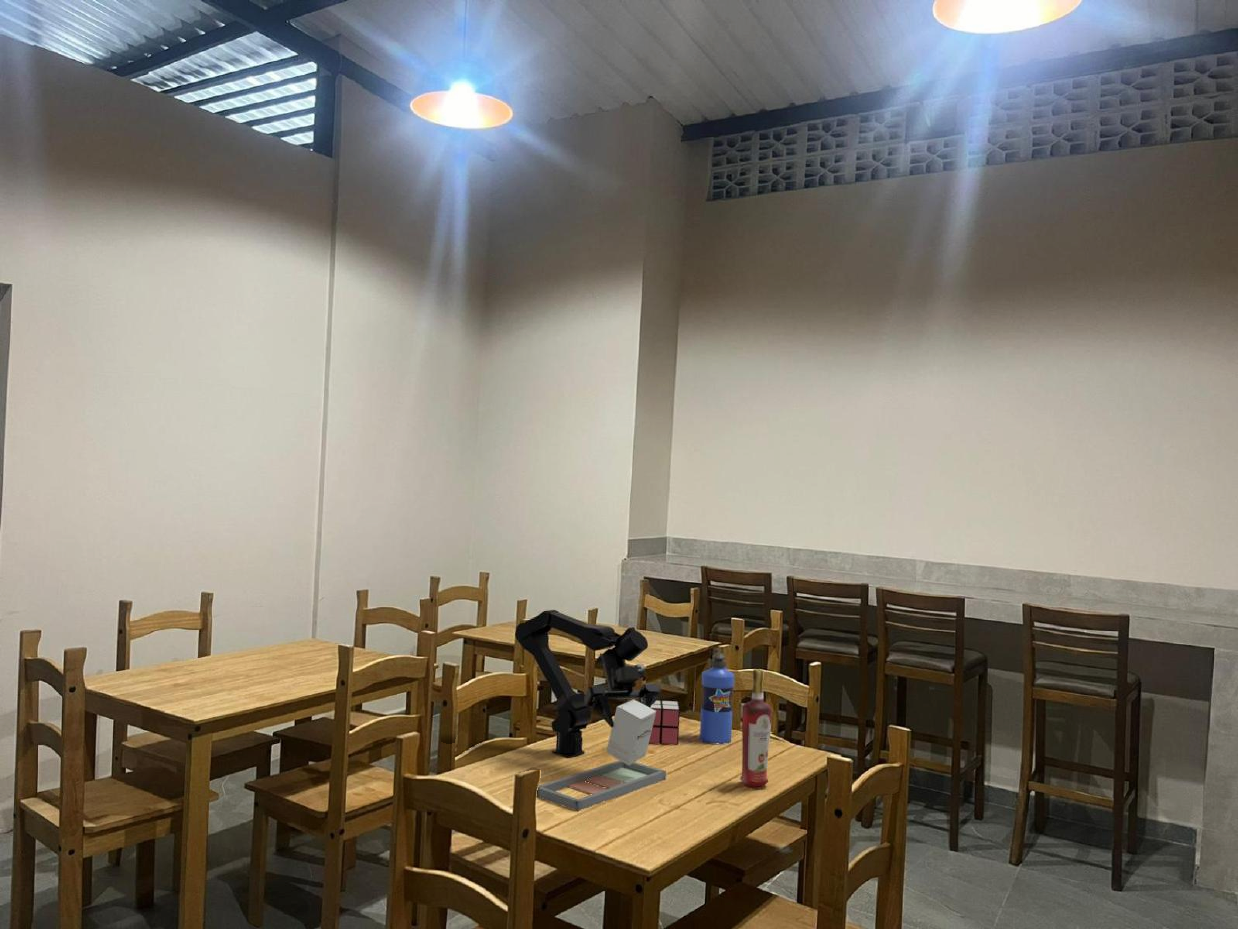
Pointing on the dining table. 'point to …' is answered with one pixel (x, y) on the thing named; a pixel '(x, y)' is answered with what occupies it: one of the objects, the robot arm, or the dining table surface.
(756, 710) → the liquor
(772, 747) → the dining table surface
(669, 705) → the puzzle cube
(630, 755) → the supplement box
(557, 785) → the shallow tray
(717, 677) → the water bottle
